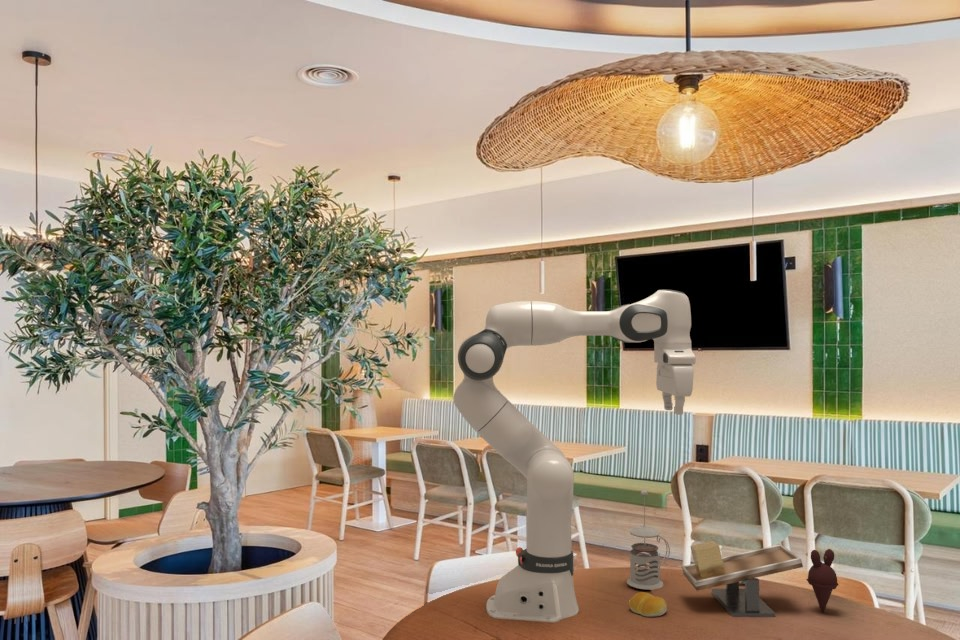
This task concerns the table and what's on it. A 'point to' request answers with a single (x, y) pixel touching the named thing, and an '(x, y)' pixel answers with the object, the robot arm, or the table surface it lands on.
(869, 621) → the table surface
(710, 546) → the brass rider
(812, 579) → the icecream
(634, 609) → the bread roll
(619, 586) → the table surface
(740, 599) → the pivot stand
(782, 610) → the table surface
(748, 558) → the balance beam
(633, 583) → the french press
